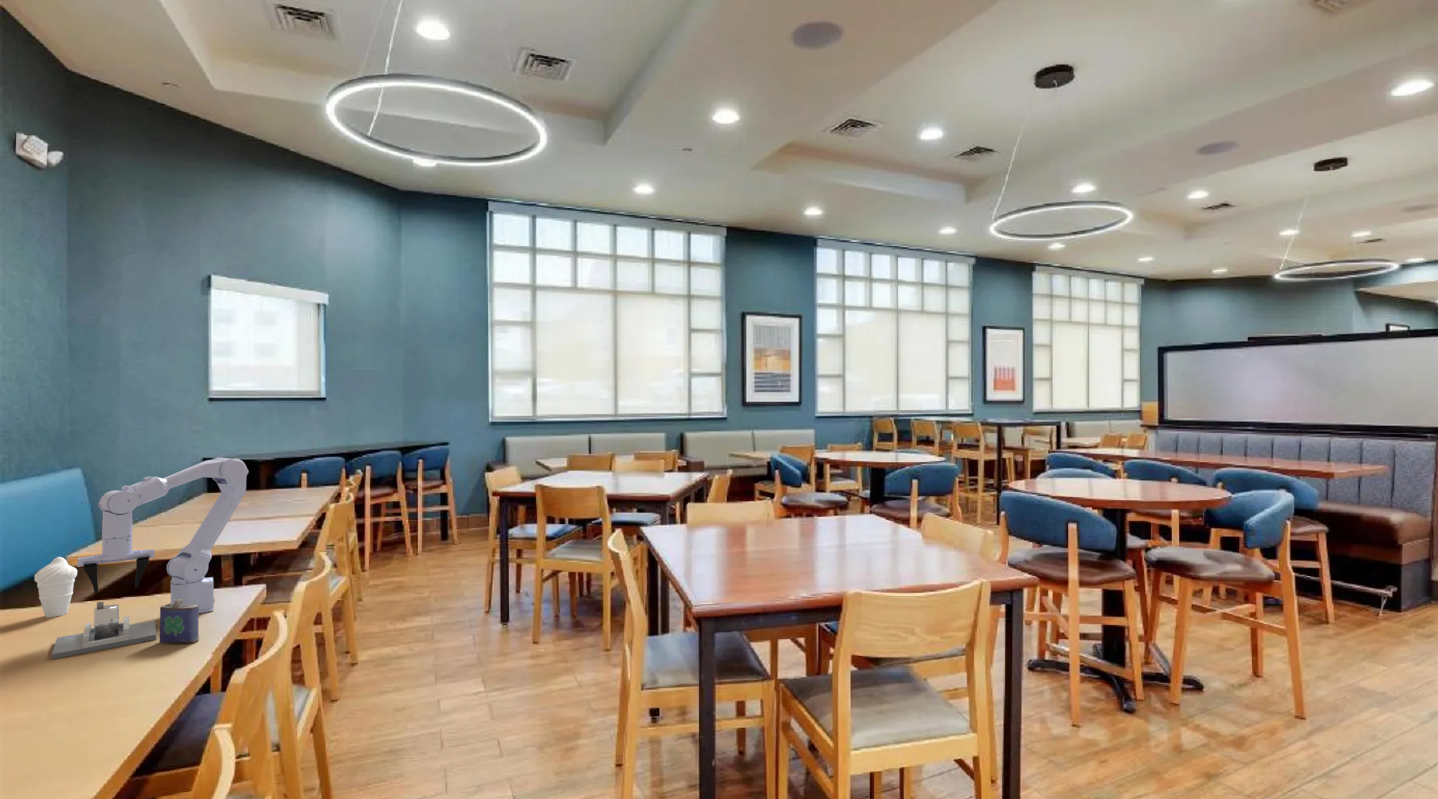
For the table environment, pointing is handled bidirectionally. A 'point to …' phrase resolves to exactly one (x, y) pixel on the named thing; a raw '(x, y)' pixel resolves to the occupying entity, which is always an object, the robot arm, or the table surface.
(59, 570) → the soft serve ice cream cone
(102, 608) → the spout can
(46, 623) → the table surface
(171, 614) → the flask
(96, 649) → the grey framed base plate
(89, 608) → the table surface
